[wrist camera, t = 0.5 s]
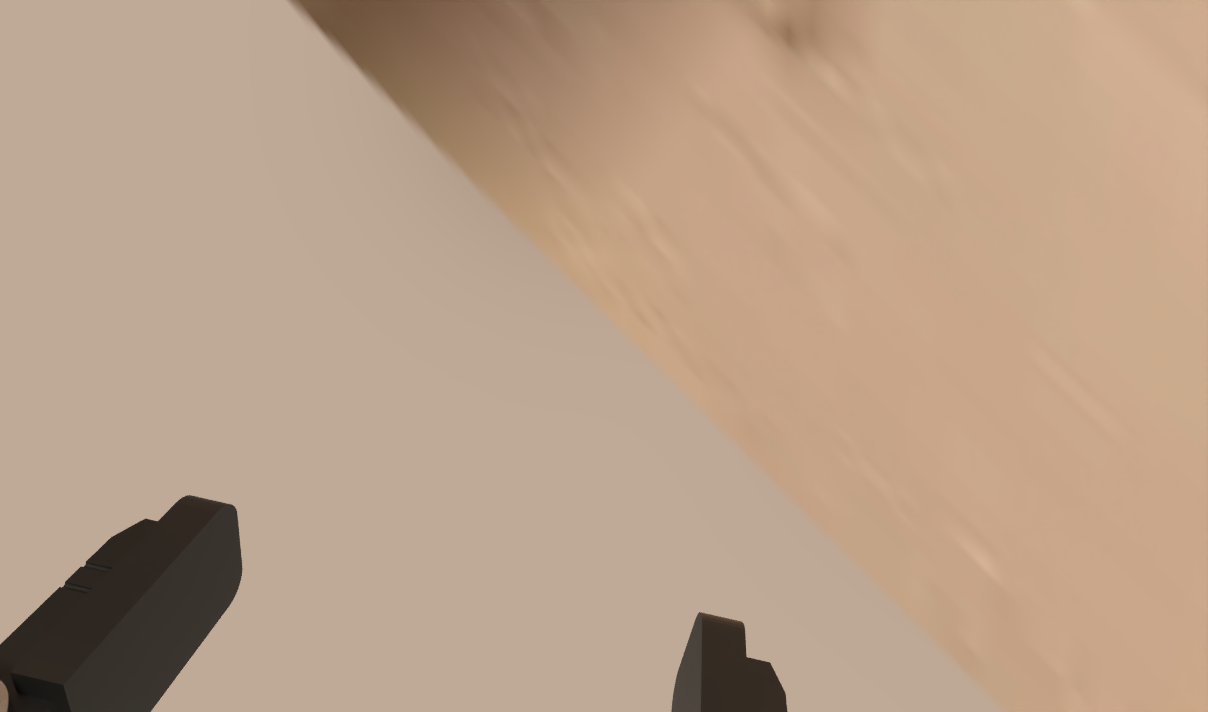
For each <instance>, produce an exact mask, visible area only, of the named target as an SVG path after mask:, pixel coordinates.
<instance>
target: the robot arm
mask: <svg viewBox="0 0 1208 712" xmlns="http://www.w3.org/2000/svg"><path fill="white" fill-rule="evenodd" d="M241 576H242V560H241V549H240V538H239V527H238V518H237V511H236V508H235V507H234V506H233V505H231V504H226V503H222V502H217V501H213V500H208V499H204V498H199V497H195V496H190V495H189V496H185V497H183V498H181V499H180V500H179V501H178V502H176V503H175V504H174V505H173V506H172V508H171V509H170V510H169V511H168V512H167V513H166V514H165V515H164V516H163V517H162V518H161V519H160V520H159V521H153V520H149V519H144V520H142V521H140V522H138V523H137V524H135V525H133V526H131V527H129V528H128V529H126V530H124V531H122V532H120V533H118V534H116V535H115V536H113V537H111V538H110V539H109V540H108V541H107V542H106V543H105V544H104V545H103V546H102V547H101V548H100V549H99V550H98V551H97V552H96V553H95V554H94V555H92V556H91V557H90V558H89V559H88V560H87V561H86V565H85V566H84V567H80V568H79V569H78V570H77V571H76V572H75V573H74V574H73V575H72V576H71V577H70V578H69V579H68V580H67V581H66V582H65V585H64V587H62V588H61V587H59V588H58V589H57V590H56V591H55V592H54V593H53V594H52V595H51V596H50V597H49V598H48V599H47V600H46V601H45V602H44V603H43V604H42V605H41V606H40V607H39V608H38V609H37V610H36V611H35V612H34V613H33V614H31V615H30V617H28V619H26V620H25V621H24V622H23V623H22V624H21V625H20V626H19V627H18V628H17V629H16V630H15V631H14V632H13V633H12V634H11V635H10V636H9V637H8V638H7V639H6V640H5V641H4V642H2V643H1V644H0V712H151V710H152V709H153V708H154V706H155V705H156V704H157V702H158V701H159V700H160V698H161V697H162V696H163V694H164V693H165V692H166V690H167V689H168V688H169V686H170V685H171V684H172V682H173V681H174V680H175V678H176V677H177V675H178V674H179V673H180V671H181V670H182V669H183V667H184V666H185V665H186V663H187V662H188V661H189V659H190V658H191V657H192V655H193V654H194V653H195V651H196V650H197V649H198V647H199V646H200V645H201V643H202V642H203V641H204V639H205V638H206V636H207V635H208V634H209V632H210V631H211V630H212V628H213V627H214V625H215V624H216V623H217V622H218V620H219V619H220V618H221V616H222V615H223V614H224V612H225V611H226V610H227V608H228V607H229V605H230V604H231V602H232V601H233V599H234V597H235V594H236V592H237V590H238V587H239V584H240V580H241ZM672 712H787V705H786V695H785V692H784V690H783V688H782V685H781V683H780V682H779V680H778V677H777V676H776V674H775V671H774V670H773V668H772V666H771V663H769V662H765V661H761V660H756V659H752V658H747V657H746V640H745V628H744V624H743V623H742V622H741V621H736V620H732V619H727V618H723V617H718V616H714V615H710V614H705V613H700V612H699V613H698V615H697V617H696V620H695V623H694V626H693V629H692V632H691V635H690V637H689V640H688V643H687V646H686V649H685V652H684V656H683V658H682V661H681V664H680V667H679V670H678V674H677V678H676V682H675V688H674V694H673V702H672Z"/></svg>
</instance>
